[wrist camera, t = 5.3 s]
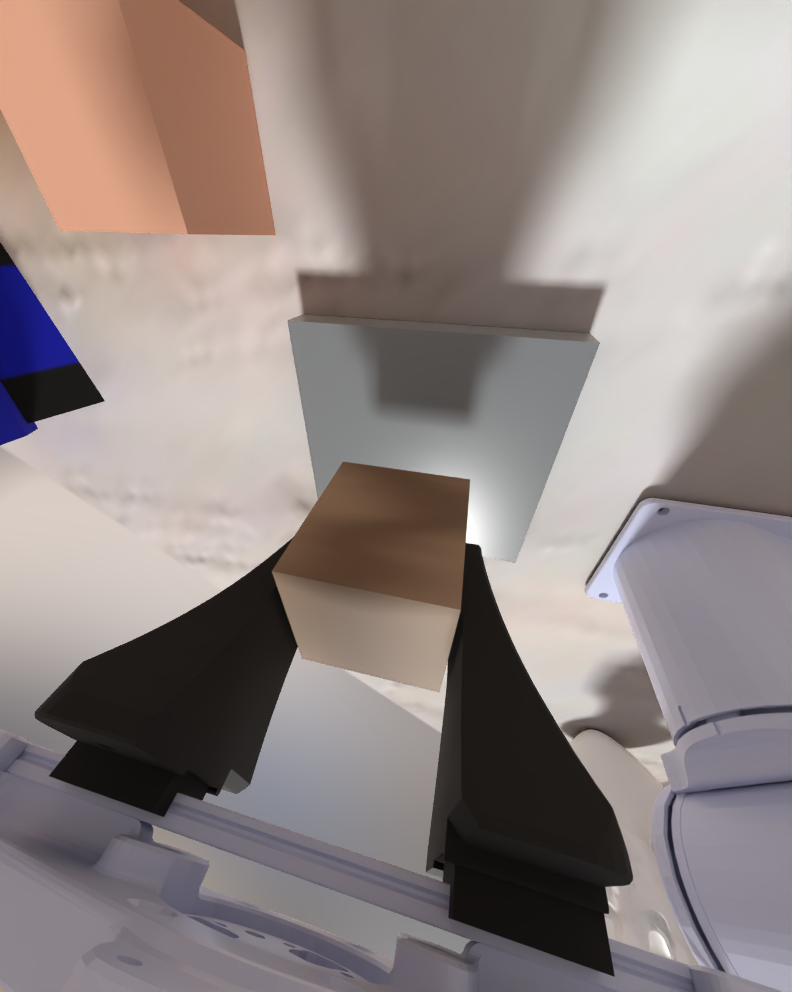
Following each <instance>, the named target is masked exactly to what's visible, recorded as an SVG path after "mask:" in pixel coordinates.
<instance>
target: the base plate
mask: <svg viewBox="0 0 792 992" xmlns="http://www.w3.org/2000/svg"><path fill="white" fill-rule="evenodd" d="M288 326H289V332H290V338H291V344H292V349H293V355H294V361H295V367H296V373H297V379H298V385H299V391H300V396H301V402H302V408H303V414H304V420H305V426H306V432H307V438H308V444H309V449H310V455H311V461H312V467H313V473H314V479H315V485H316V491H317V496H318V499H319V498H320V496H321V495H322V493H323V492H324V490H325V488H326V487H327V485H328V484H329V482H330V481H331V479H332V478H333V476H334V475H335V473H336V471H337V470H338V468H339V467H340V465H341V464H342V462H350V463H357V464H365V465H372V466H379V467H386V468H393V469H400V470H407V471H414V472H421V473H428V474H435V475H442V476H450V477H457V478H464V479H470V491H469V504H468V518H467V532H466V543H470V544H476V545H479V546H480V547H481V551H482V556H483V557H485V558H491V559H496V560H502V561H507V562H513V563H515V562H516V560H517V557H518V555H519V552H520V549H521V547H522V544H523V542H524V539H525V536H526V534H527V531H528V529H529V526H530V523H531V521H532V518H533V516H534V513H535V510H536V508H537V505H538V502H539V500H540V497H541V495H542V492H543V489H544V487H545V484H546V482H547V479H548V476H549V474H550V471H551V469H552V466H553V463H554V461H555V458H556V456H557V453H558V450H559V448H560V445H561V443H562V440H563V437H564V435H565V432H566V430H567V427H568V424H569V422H570V419H571V417H572V414H573V411H574V409H575V406H576V404H577V401H578V398H579V396H580V393H581V391H582V388H583V385H584V383H585V380H586V378H587V375H588V372H589V370H590V367H591V365H592V362H593V359H594V357H595V354H596V352H597V349H598V346H599V344H600V342H598V341H597V340H596V339H595V338H594V337H593V336H592V335H591V334H590V333H577V332H563V331H548V330H533V329H518V328H503V327H488V326H473V325H458V324H443V323H428V322H413V321H399V320H384V319H369V318H354V317H339V316H324V315H309V314H303V315H300V316H298V317H295V318H293V319H290V320H288Z"/></svg>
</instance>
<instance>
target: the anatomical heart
mask: <svg viewBox="0 0 792 992" xmlns="http://www.w3.org/2000/svg"><path fill="white" fill-rule="evenodd" d="M570 745H571V747H572V748H573V750H574V752H575V753H576V755H577V756H578V758H579V759H580V761H581V762H582V764H583V765H584V767H585V768H586V770H587V771H588V773H589V774H590V776H591V777H592V778H593V780H594V781H595V783H596V784H597V786H598V787H599V789H600V790H601V791H602V793H603V794H604V796H605V797H606V799H607V800H608V801H609V803H610V804H611V806H612V808H613V810H614V813H615V815H616V818H617V821H618V824H619V827H620V829H621V833H622V836H623V839H624V842H625V845H626V848H627V851H628V855H629V859H630V864H631V868H632V873H633V881H632V882H631V884H630V885H626V886H614V887H605V888H606V894H607V899H608V905H609V914H605V913H604V916H605V922H606V928H607V934H608V938H610V939H612V940H615V941H618V942H621V943H624V944H627V945H630V946H633V947H636V948H639V949H642V950H645V951H648V952H651V953H654V954H657V955H660V956H663V957H666V958H669V959H672V960H675V961H678V962H681V963H683V964H686V965H689V966H692V965H693V964H694V965H699V964H698V963H697V961H696V959H695V957H694V956H693V954H692V952H691V950H690V948H689V946H688V944H687V942H686V940H685V938H684V936H683V934H682V932H681V930H680V927H679V925H678V923H677V921H676V918H675V916H674V913H673V911H672V908H671V906H670V904H669V901H668V899H667V895H666V892H665V889H664V886H663V883H662V880H661V877H660V873H659V869H658V865H657V861H656V857H655V854H654V853H653V851H652V850H651V840H652V815H653V807H654V804H655V801H656V798H657V796H658V795H659V793H660V792H661V790H662V789H663V786H662V785H661V784H660V783H659V781H658V780H657V779H656V778H655V777H654V776H653V775H652V774H651V773H650V772H649V771H648V770H647V769H646V768H645V767H644V766H643V765H642V764H641V763H640V762H639V761H638V760H637V759H636V758H635V757H634V756H633V755H632V754H631V753H629V752H628V751H627V750H626V749H625V748H624V747H622V746H621V745H620V744H619V743H617V742H616V741H615V740H613V739H612V738H610V737H609V736H607V735H605V734H604V733H602V732H600V731H597V730H593V729H588V730H585V731H583V732H581V733H579V734H578V735H577V736H576V737H575V738H574V739H573V740H572V742H571V743H570Z"/></svg>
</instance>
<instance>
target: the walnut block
mask: <svg viewBox="0 0 792 992" xmlns="http://www.w3.org/2000/svg"><path fill="white" fill-rule="evenodd" d="M469 491H470V479H464V478H457V477H450V476H442V475H435V474H428V473H421V472H414V471H407V470H400V469H393V468H386V467H379V466H372V465H365V464H357V463H350V462H342V464H341V465H340V467H339V468H338V470H337V471H336V473H335V475H334V476H333V478H332V479H331V481H330V482H329V484H328V485H327V487H326V488H325V490H324V492H323V493H322V495H321V496H320V498H319V499H318V501H317V502H316V504H315V505H314V507H313V508H312V510H311V512H310V513H309V515H308V516H307V518H306V519H305V521H304V522H303V524H302V525H301V527H300V529H299V530H298V532H297V533H296V535H295V536H294V538H293V539H292V541H291V542H290V544H289V545H288V547H287V549H286V550H285V552H284V553H283V555H282V556H281V558H280V559H279V561H278V562H277V564H276V566H275V567H274V569H273V570H272V573H273V576H274V579H275V582H276V585H277V588H278V591H279V594H280V596H281V599H282V602H283V605H284V608H285V611H286V614H287V617H288V619H289V622H290V625H291V628H292V631H293V634H294V637H295V640H296V642H297V645H298V648H299V651H300V653H301V656H302V659H306V660H310V661H315V662H318V663H322V664H327V665H330V666H334V667H339V668H343V669H347V670H351V671H355V672H359V673H363V674H367V675H371V676H375V677H379V678H383V679H387V680H391V681H395V682H399V683H403V684H407V685H411V686H415V687H420V688H424V689H428V690H432V691H436V692H440V688H441V684H442V680H443V676H444V673H445V669H446V665H447V661H448V657H449V653H450V650H451V646H452V642H453V638H454V634H455V630H456V626H457V623H458V619H459V615H460V611H461V600H462V586H463V573H464V559H465V545H466V532H467V518H468V504H469Z"/></svg>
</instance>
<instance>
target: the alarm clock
mask: <svg viewBox="0 0 792 992" xmlns="http://www.w3.org/2000/svg"><path fill="white" fill-rule="evenodd" d="M103 401H104V399H103V398H102V396H101V394H100V393H99V391H98V390H97V388H96V387H95V385H94V384H93V382H92V381H91V379H90V378H89V376H88V375H87V373H86V372H85V370H84V369H83V367H82V366H81V364H80V363H79V361H78V360H77V358H76V357H75V355H74V353H73V352H72V350H71V349H70V347H69V346H68V344H67V343H66V341H65V340H64V338H63V337H62V335H61V334H60V332H59V331H58V329H57V328H56V326H55V325H54V323H53V322H52V320H51V319H50V317H49V316H48V314H47V312H46V311H45V309H44V308H43V306H42V305H41V303H40V302H39V300H38V299H37V297H36V296H35V294H34V293H33V291H32V290H31V288H30V287H29V285H28V284H27V282H26V281H25V279H24V278H23V276H22V275H21V273H20V271H19V270H18V268H17V267H16V265H15V264H14V262H13V261H12V259H11V258H10V256H9V255H8V253H7V252H6V250H5V249H4V247H3V246H2V244H1V243H0V445H2V444H5V443H8V442H10V441H13V440H16V439H19V438H21V437H24V436H27V435H28V434H30V433H32V432H33V431H35V430H36V429H38V428H37V426H36V424H35V423H34V422H35V421H39V420H42V419H46V418H49V417H52V416H56V415H59V414H63V413H66V412H69V411H73V410H76V409H79V408H83V407H86V406H90V405H93V404H96V403H100V402H103Z"/></svg>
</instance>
